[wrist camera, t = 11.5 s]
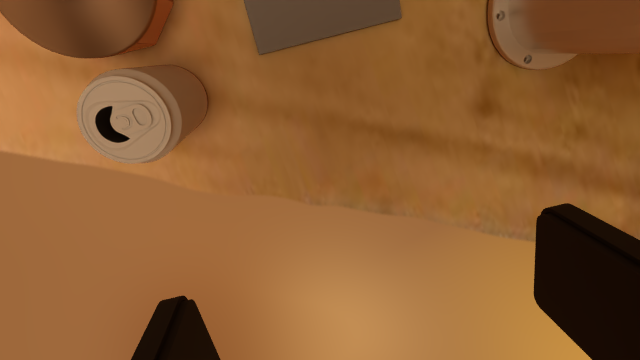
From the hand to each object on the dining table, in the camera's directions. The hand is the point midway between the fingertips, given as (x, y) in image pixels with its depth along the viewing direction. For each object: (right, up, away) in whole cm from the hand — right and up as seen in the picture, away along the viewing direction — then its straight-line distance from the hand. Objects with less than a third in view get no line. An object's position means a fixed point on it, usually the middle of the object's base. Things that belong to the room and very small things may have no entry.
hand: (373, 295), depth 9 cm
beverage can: (-16, +11, +24) cm, 31 cm away
